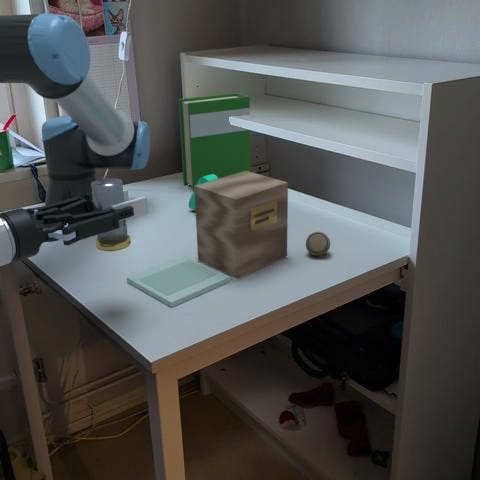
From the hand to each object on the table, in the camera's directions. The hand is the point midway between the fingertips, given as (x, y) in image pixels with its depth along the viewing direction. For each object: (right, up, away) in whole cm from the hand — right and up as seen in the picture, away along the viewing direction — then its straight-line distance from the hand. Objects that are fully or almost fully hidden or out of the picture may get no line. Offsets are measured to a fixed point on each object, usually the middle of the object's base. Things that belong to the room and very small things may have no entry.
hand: (136, 200), depth 104 cm
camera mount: (+12, 0, +46) cm, 48 cm away
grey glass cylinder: (-4, -7, -1) cm, 8 cm away
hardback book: (+11, +9, +68) cm, 70 cm away
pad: (+6, -15, +12) cm, 20 cm away
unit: (+18, -10, +21) cm, 30 cm away
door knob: (+34, -10, +22) cm, 42 cm away
